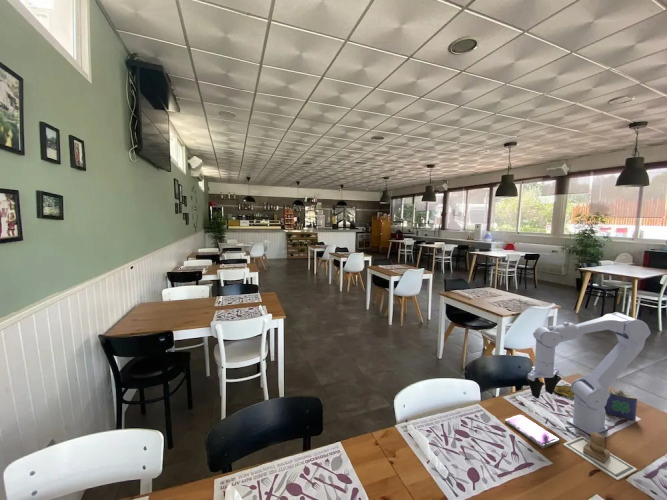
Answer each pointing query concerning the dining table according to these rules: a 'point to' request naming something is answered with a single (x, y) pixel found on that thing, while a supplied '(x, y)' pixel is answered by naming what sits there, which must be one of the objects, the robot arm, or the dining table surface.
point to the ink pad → (532, 431)
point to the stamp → (596, 448)
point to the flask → (621, 405)
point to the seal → (564, 391)
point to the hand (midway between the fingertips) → (542, 394)
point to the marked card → (611, 466)
